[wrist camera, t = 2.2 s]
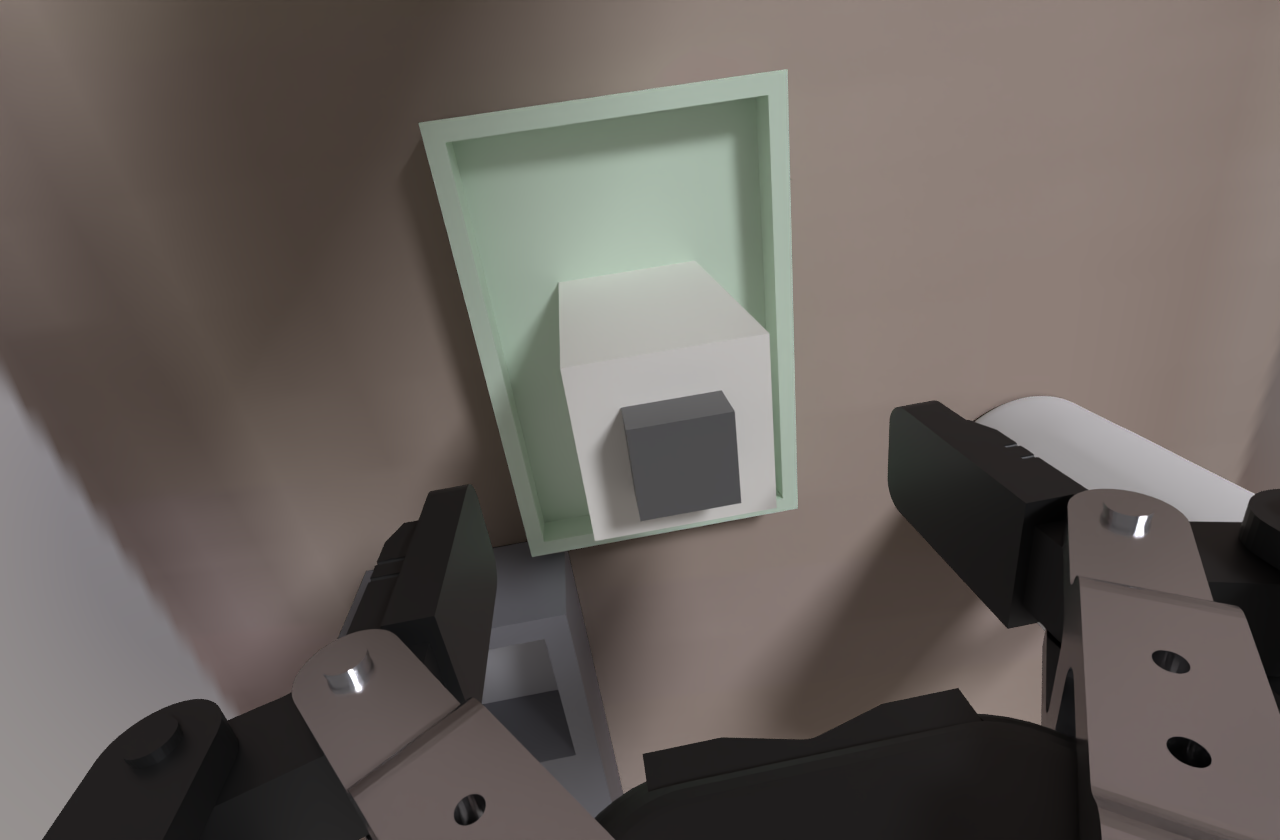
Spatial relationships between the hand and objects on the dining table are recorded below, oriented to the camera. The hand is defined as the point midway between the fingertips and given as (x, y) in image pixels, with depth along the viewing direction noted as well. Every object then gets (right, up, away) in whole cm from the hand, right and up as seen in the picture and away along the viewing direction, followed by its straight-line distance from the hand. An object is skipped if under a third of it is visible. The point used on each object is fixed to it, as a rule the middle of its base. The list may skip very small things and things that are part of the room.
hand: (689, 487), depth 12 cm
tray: (-1, +4, +7) cm, 9 cm away
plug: (-1, +4, +7) cm, 8 cm away
